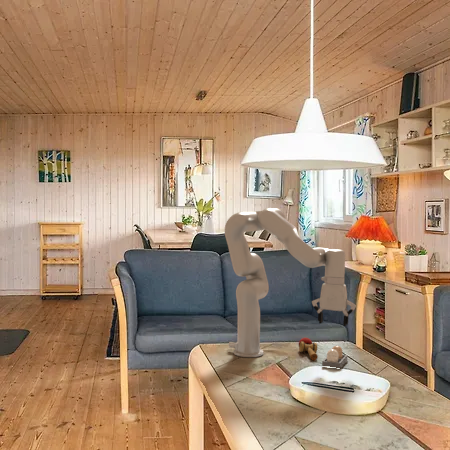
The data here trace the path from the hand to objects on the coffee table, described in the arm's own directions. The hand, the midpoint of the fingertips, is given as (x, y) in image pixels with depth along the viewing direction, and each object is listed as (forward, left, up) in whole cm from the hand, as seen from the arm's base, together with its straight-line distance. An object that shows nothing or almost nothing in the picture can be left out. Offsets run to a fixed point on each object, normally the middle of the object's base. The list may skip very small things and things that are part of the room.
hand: (332, 324), depth 238 cm
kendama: (-13, +13, -17) cm, 25 cm away
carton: (0, +3, -17) cm, 17 cm away
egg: (0, 0, -16) cm, 16 cm away
